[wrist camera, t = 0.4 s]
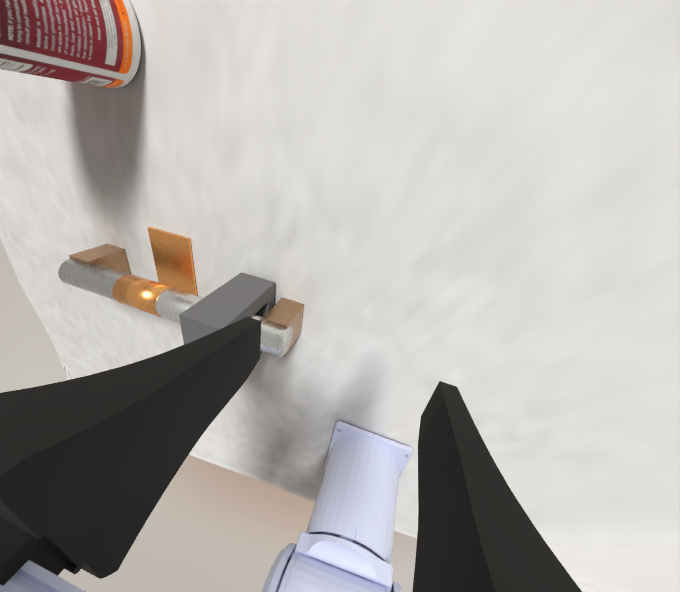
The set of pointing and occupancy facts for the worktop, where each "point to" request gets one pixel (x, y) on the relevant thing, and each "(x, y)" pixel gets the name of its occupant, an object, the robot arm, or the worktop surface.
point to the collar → (228, 306)
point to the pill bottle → (71, 40)
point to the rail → (169, 286)
